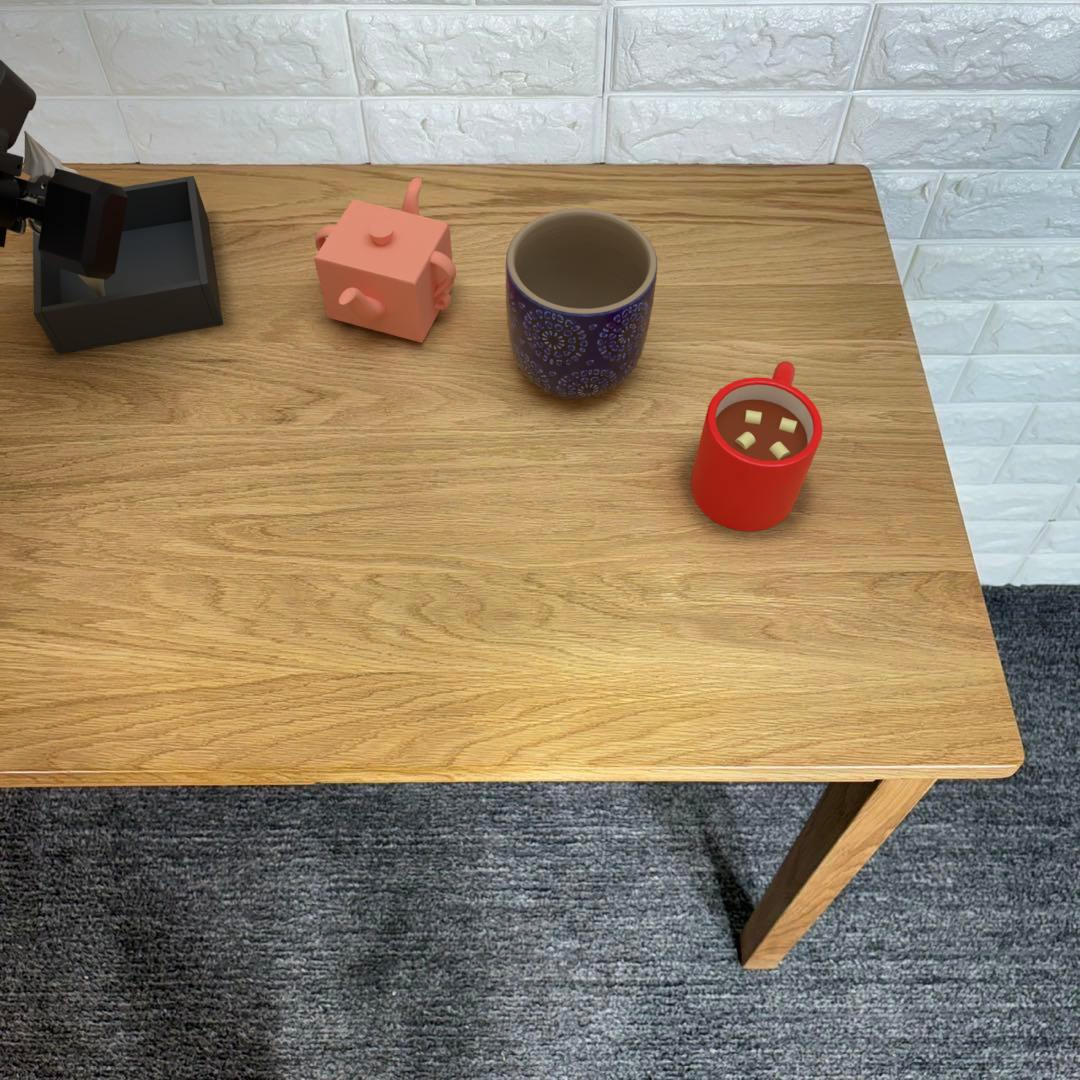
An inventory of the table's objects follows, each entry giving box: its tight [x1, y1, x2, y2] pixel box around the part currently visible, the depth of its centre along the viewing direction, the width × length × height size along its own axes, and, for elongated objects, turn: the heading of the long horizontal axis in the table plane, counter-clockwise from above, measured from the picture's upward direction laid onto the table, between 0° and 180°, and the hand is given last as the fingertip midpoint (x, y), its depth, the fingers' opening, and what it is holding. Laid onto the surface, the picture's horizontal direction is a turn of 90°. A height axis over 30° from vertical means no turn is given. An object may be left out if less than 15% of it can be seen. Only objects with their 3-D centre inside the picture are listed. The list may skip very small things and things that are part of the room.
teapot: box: [313, 177, 457, 344], centre depth 80 cm, size 12×15×8 cm
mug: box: [690, 360, 824, 532], centre depth 72 cm, size 8×12×8 cm, turn 160°
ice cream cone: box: [21, 130, 105, 297], centre depth 74 cm, size 5×5×15 cm
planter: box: [505, 207, 658, 400], centre depth 76 cm, size 11×11×11 cm
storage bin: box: [32, 175, 224, 355], centre depth 83 cm, size 13×13×5 cm
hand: (79, 214), depth 75 cm, fingers closed on ice cream cone, 5 cm apart
